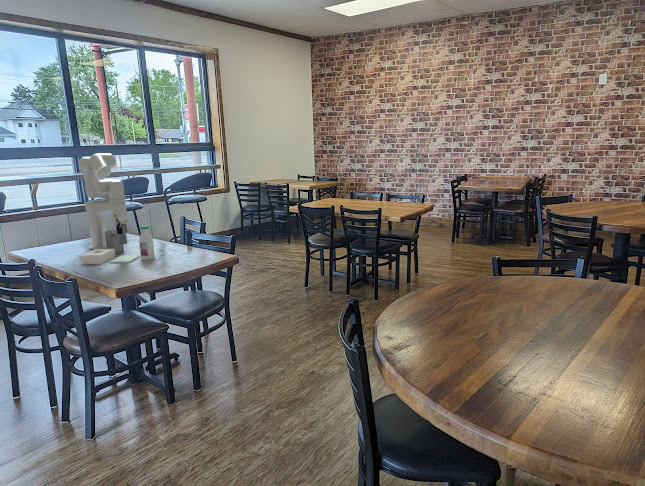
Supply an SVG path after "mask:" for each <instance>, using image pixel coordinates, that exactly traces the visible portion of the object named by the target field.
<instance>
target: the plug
mask: <svg viewBox="0 0 645 486" xmlns="http://www.w3.org/2000/svg"><path fill="white" fill-rule="evenodd" d="M117 222H119V221H117ZM125 223H126V224H127V222H126V221H122V222H121V227H122V231H123V234H118V238H119V244H123V245H127V244H128V237H127V236H128V235H127V232H126V227H127V226H126V227H125ZM118 224H119V223H118Z"/></svg>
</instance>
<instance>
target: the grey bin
mask: <svg viewBox="0 0 645 486" xmlns="http://www.w3.org/2000/svg"><path fill="white" fill-rule="evenodd" d="M105 239H106V247H107V248H106V249H115V255H119V254H123V253H124V251H125V247H124V244H119V238H118V234H117V230H115V229H111V230H106V232H105Z"/></svg>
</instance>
